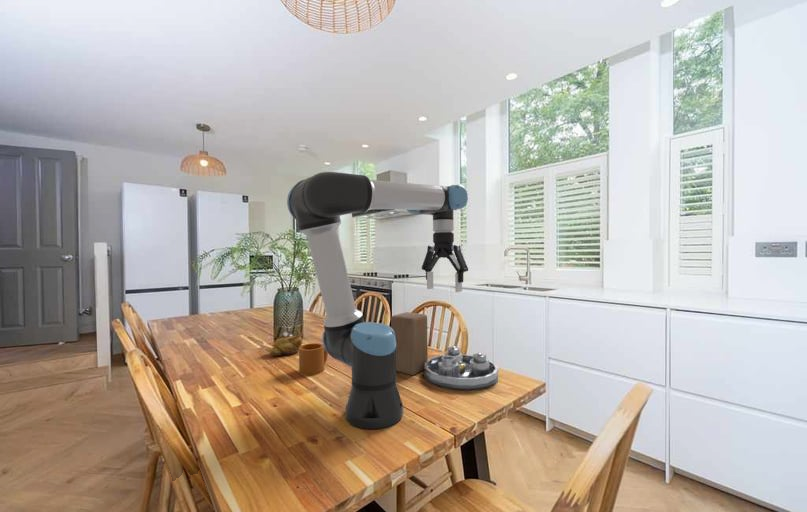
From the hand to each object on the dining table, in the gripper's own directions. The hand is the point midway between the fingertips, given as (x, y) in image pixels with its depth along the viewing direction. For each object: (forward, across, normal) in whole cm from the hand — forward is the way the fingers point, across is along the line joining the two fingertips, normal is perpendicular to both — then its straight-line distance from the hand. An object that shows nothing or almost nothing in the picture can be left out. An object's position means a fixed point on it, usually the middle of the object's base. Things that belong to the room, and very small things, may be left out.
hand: (443, 290), depth 123 cm
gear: (+27, -8, +8) cm, 30 cm away
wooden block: (+29, +8, +10) cm, 32 cm away
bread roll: (+29, +59, +35) cm, 74 cm away
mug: (+29, +32, +35) cm, 56 cm away
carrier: (+29, -8, +2) cm, 30 cm away
